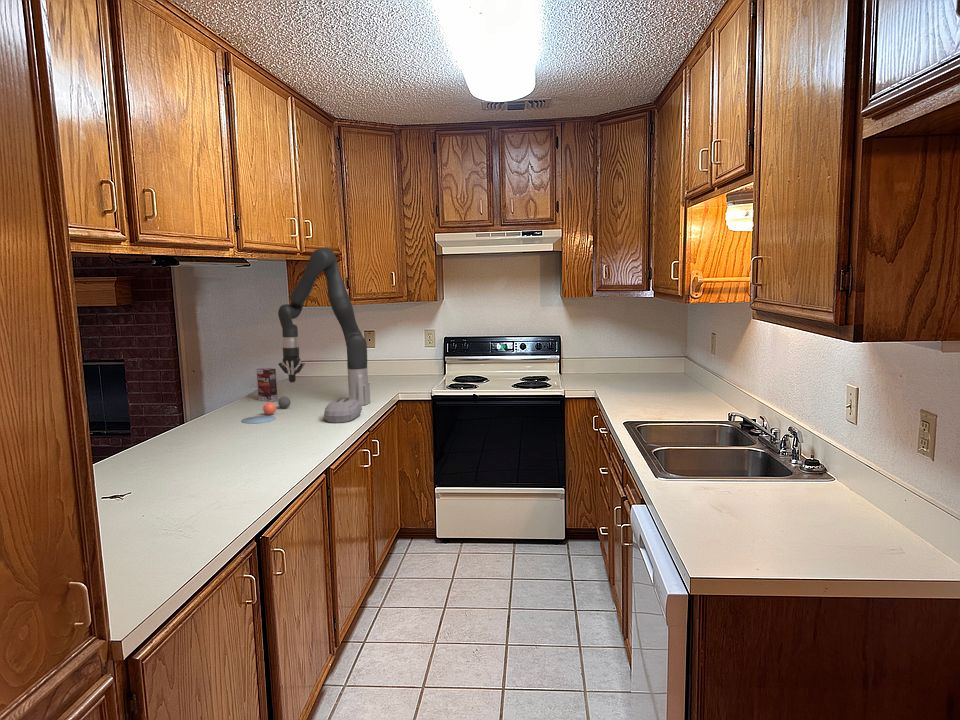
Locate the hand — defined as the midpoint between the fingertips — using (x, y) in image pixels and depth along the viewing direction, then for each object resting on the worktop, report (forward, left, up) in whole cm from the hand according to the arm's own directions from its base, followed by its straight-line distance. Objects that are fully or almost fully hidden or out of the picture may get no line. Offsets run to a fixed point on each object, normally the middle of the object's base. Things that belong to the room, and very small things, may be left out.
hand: (292, 382), depth 310 cm
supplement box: (+18, -8, -11) cm, 23 cm away
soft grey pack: (-36, +28, -11) cm, 47 cm away
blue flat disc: (0, +34, -11) cm, 35 cm away
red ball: (0, +24, -8) cm, 25 cm away
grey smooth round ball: (0, +10, -8) cm, 12 cm away
